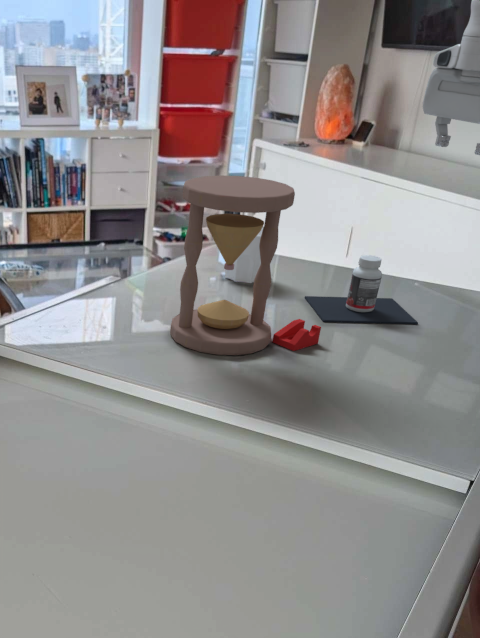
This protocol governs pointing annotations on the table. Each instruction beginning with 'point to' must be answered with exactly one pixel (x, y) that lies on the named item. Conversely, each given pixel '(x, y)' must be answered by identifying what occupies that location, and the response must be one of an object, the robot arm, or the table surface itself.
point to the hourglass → (229, 261)
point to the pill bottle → (364, 284)
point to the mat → (338, 312)
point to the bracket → (297, 335)
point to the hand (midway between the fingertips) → (460, 150)
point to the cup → (246, 263)
